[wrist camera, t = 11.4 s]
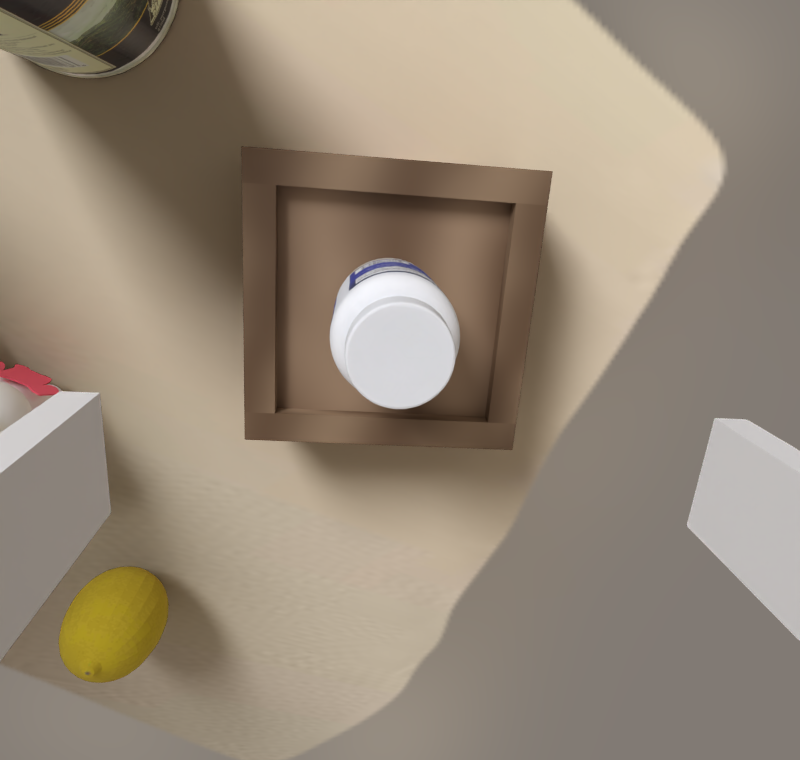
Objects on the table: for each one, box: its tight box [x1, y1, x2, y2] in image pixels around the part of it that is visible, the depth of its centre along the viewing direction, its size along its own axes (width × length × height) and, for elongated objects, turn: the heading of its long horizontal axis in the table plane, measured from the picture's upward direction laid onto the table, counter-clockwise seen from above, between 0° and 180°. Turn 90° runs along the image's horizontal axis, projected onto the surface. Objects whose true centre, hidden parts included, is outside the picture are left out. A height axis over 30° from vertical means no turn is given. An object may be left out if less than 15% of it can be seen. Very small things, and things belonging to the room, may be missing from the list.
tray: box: [242, 146, 553, 450], centre depth 31 cm, size 14×14×6 cm
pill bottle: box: [330, 258, 460, 409], centre depth 25 cm, size 5×5×9 cm
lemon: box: [59, 567, 169, 683], centre depth 35 cm, size 6×6×8 cm
